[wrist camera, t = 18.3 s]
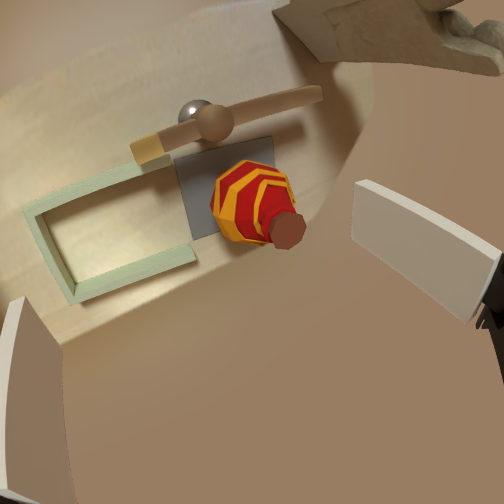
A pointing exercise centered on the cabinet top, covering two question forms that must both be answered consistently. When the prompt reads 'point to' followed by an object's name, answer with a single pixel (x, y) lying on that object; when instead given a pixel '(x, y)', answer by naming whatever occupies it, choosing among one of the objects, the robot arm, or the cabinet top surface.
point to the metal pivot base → (190, 109)
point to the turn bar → (221, 121)
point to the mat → (214, 178)
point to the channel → (113, 277)
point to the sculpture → (396, 33)
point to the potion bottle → (256, 206)
